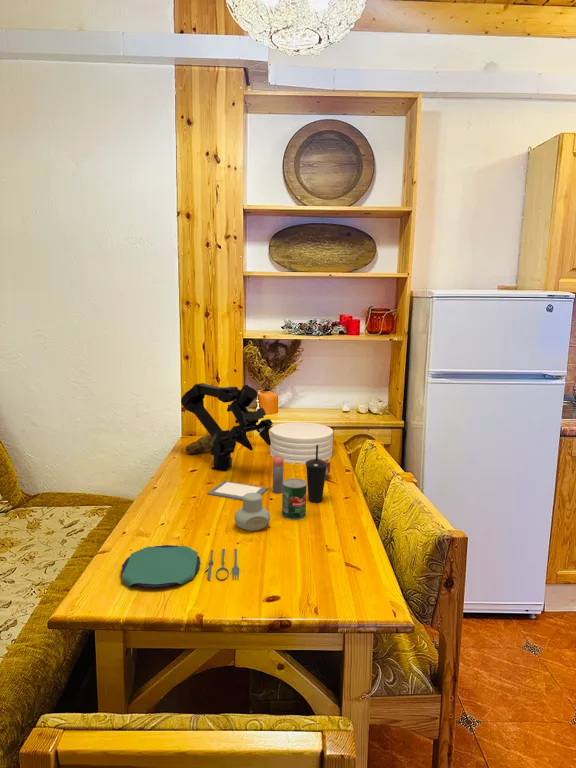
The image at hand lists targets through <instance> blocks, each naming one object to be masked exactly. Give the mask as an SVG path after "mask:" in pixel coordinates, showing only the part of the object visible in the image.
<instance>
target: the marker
mask: <svg viewBox="0 0 576 768" xmlns="http://www.w3.org/2000/svg"><path fill="white" fill-rule="evenodd" d="M284 464H285V462H284V457H283V456H274V457H273V458H272V493H273V494H279V493H280V494H282V490H283V489H282V488H283V484H282V483H283V481H284ZM280 494H279V495H280Z"/></svg>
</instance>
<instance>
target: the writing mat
mask: <svg viewBox="0 0 576 768" xmlns="http://www.w3.org/2000/svg"><path fill="white" fill-rule="evenodd" d="M268 490H269V488H268V487H266V486H265V487H264V486H260V485H252V484H248V483H247V484H246V483H241V482H235V481H234V482H233V481H229V480H228V481H227V480H224V481H222V482H220V483H219V484H218V485H216V486H215V487H214V488H212V489H211V490H210V491H208V492H207V493H206V494H207V496H213V497H219V498H225V499H230V500H237V501H241V502H243V496H244V495H245V494H247V493H258V494H260V495H261V496H262V495H264V494H265V493H266V492H267V491H268Z"/></svg>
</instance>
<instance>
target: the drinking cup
mask: <svg viewBox="0 0 576 768" xmlns="http://www.w3.org/2000/svg"><path fill="white" fill-rule="evenodd" d="M327 462H328V461H327ZM327 462H326V461H323V460H321V459H318V445H316V459H311V460H308V461H306V464H305V465H306V479H307V481H306V483H307V499H308V502H310V503H314V504H319V503H322V501H323V496H324V488H325V482H326V478H325V475H326V467H327V465H328V463H327Z"/></svg>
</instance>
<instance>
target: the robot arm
mask: <svg viewBox="0 0 576 768" xmlns="http://www.w3.org/2000/svg"><path fill="white" fill-rule="evenodd" d="M258 395H259V394H258V392H257V390H256V389H254V388H253V387H251V386H249V385H248V384H244V385H243V386H242V387H241V389H239V388H238V387H237V386H224V387H223V386H222V387H221V386H217V385H211V384H207V383H204V382H201V383H195V384H194V385H193V386H192V387H191V388H190V389H189V390H188V391H186V392H185V393H184V394H183V396H182V398H181V399H180V403H181V405H182V407H183V408H184V409H185V410H186V411H188V412H190V413H191V414H194V415H195V416H196V418H197V420H199V422H200V423H201V425H202V426H203V427H204V429H205V430H206V431H207V433H208V435H210V436H212V441H213V447H212V448H211V449H209V454H210V455H211V456H213V467H211V470H215V471H221V472H227V471H229V470H230V469H232V468H233V464H232V463H233V462H232V461H233V457H232V455H231V454H234V452H235V450H236V446H237V443H238V444H240V445H241V446H243V447H244V448H246V449H248V450H249V451H253V450H254V448H253V446H252V443H251V442H250V439H249V438H248V437H247V433H250V432H254V431H256V432H258V435H259V437H260V438H262V440H263V441H264V442H265V444H266V445H267V446H269V447H270V445H271V441H270V440H271V438H270V429H271V428H272V425H273V424H274V423H273V422H272V420H271V419H270V418H266V419H264V417H265V416H266V411H265V409H264V408H263V407H260V408H257V409H256V410H255V411H251V410H248V409H249V408H248V407H251V405H252V404H253V402H255V400H257V398H258ZM206 396H209V397H213V398H216V399H217V400H218V401H220V402H223V403H226V404H227V403H230V402H231V403H230V404H227V408H226V412H227V413H229V412H231V414H233V416H234V418H235V421H234V422H235V424H238V425H234V426H233V427H232V428H231V429H230V430H229V429H228V430H223V429H222V428H221V427H220V425H218V423H217V422H216V420H215V419H214V418H213V417H212V415H211V414H210V413H209V411H208V410H207V409H206V408H205V401H204V399H205V397H206ZM261 419H262V420H261ZM259 420H260V422H259ZM257 423H258V424H257Z"/></svg>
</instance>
